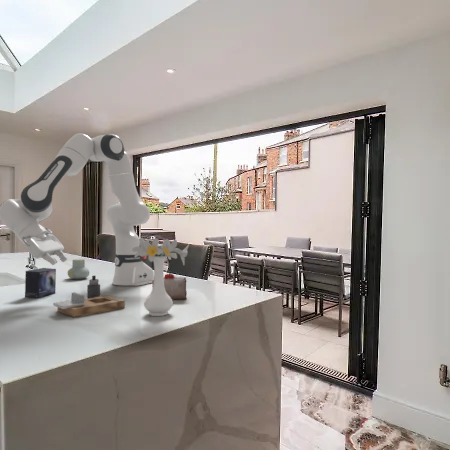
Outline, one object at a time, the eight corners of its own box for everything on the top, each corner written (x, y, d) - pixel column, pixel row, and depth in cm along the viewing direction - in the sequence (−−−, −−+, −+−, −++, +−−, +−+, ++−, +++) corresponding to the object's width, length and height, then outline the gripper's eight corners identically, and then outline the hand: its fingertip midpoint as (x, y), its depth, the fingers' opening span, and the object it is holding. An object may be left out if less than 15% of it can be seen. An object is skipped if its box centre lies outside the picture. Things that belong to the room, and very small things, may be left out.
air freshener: (65, 278, 189) (66, 259, 189) (81, 276, 195) (81, 258, 195) (75, 280, 182) (75, 260, 182) (91, 279, 188) (91, 259, 188)
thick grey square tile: (74, 301, 123) (74, 292, 123) (84, 305, 118) (84, 295, 118) (53, 305, 118) (53, 295, 118) (62, 309, 113) (62, 298, 113)
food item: (150, 301, 139) (150, 275, 138) (152, 296, 146) (152, 272, 146) (186, 300, 140) (186, 275, 140) (186, 296, 148) (186, 272, 148)
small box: (38, 298, 140) (38, 271, 140) (24, 297, 142) (24, 270, 141) (56, 293, 151) (56, 268, 151) (42, 292, 152) (42, 267, 152)
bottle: (96, 299, 141) (96, 274, 140) (102, 300, 137) (102, 275, 137) (85, 300, 137) (85, 275, 137) (91, 302, 134) (91, 277, 134)
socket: (106, 302, 135) (106, 295, 135) (124, 307, 127) (124, 300, 127) (57, 310, 121) (57, 303, 121) (74, 317, 113) (74, 309, 113)
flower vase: (192, 316, 116) (193, 238, 116) (133, 321, 110) (134, 238, 110) (183, 307, 129) (184, 236, 128) (130, 310, 123) (130, 236, 122)
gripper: (26, 230, 126) (55, 259, 126) (51, 229, 146) (76, 253, 147) (13, 243, 126) (41, 271, 126) (40, 240, 146) (65, 264, 147)
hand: (60, 262), depth 137 cm, fingers open, 8 cm apart
